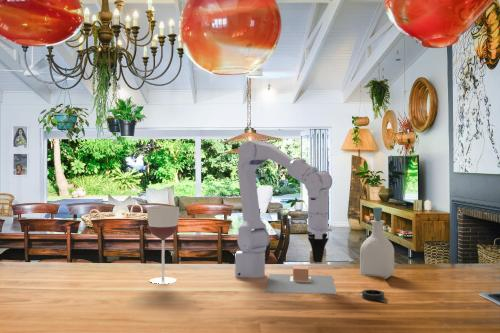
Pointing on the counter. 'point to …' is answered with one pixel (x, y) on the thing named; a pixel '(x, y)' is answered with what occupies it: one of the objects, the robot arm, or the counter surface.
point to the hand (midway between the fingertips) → (317, 260)
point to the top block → (317, 262)
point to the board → (300, 284)
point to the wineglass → (163, 231)
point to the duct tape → (373, 295)
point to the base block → (300, 273)
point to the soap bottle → (377, 251)
